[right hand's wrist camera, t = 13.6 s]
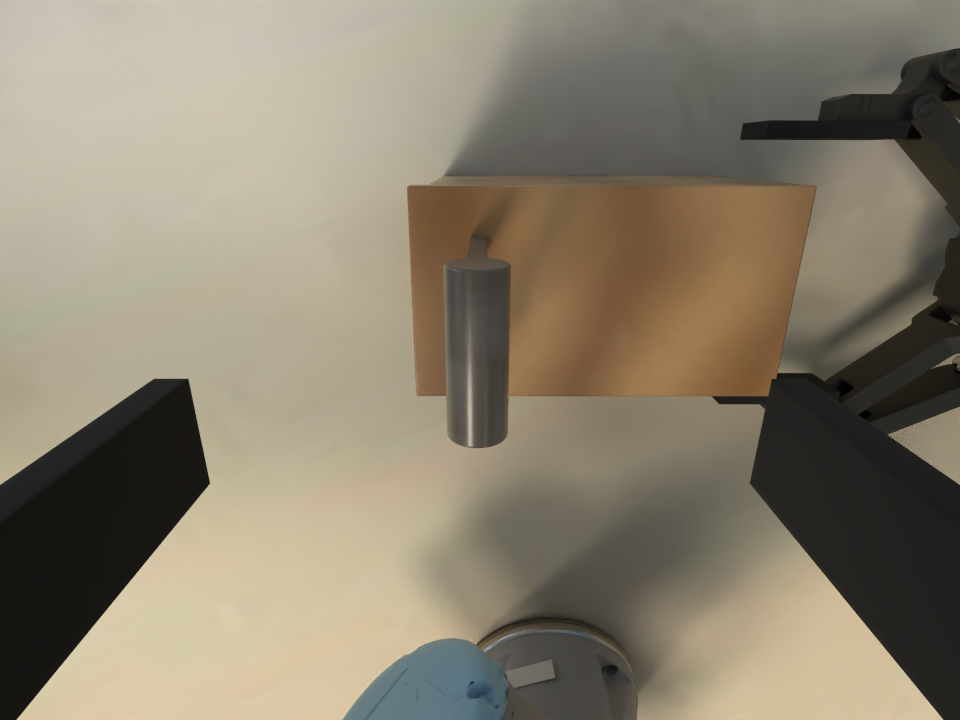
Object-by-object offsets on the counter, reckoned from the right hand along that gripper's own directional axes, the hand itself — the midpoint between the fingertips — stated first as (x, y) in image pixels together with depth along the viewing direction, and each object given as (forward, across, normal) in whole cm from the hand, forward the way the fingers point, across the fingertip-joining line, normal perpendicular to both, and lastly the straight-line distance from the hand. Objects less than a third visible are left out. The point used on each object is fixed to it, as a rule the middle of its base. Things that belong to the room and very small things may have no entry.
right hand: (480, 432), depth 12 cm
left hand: (+17, -13, 0) cm, 22 cm away
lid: (+13, -5, 0) cm, 14 cm away
